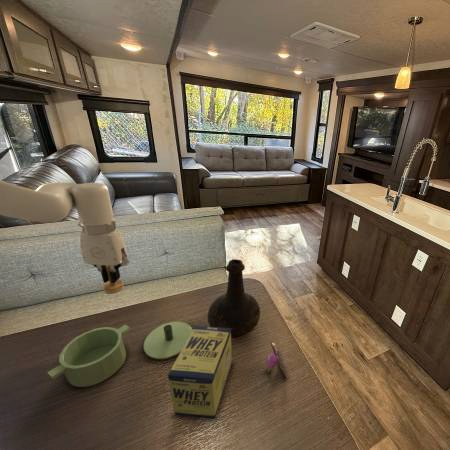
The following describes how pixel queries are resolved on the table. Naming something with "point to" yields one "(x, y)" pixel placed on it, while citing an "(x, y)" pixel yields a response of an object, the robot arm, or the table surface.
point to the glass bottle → (235, 305)
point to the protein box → (201, 372)
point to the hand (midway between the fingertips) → (112, 279)
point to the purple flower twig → (274, 360)
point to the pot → (92, 356)
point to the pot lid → (167, 340)
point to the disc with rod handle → (112, 284)
